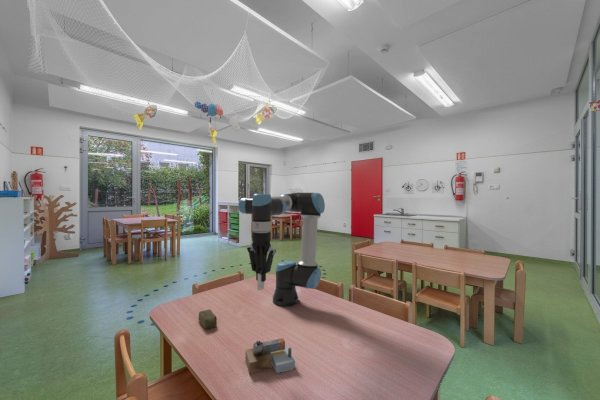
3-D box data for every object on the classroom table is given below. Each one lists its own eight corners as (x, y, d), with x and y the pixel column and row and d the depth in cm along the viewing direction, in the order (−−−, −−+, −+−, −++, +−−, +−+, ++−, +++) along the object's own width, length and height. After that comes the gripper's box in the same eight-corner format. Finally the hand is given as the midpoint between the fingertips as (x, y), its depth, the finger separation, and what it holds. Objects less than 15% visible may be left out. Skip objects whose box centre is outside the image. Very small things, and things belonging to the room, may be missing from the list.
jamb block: (266, 355, 99) (266, 345, 99) (271, 368, 92) (271, 357, 92) (245, 360, 96) (245, 349, 96) (249, 374, 89) (249, 362, 89)
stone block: (205, 330, 117) (205, 320, 117) (197, 320, 126) (198, 310, 126) (217, 327, 120) (217, 316, 120) (209, 317, 129) (209, 307, 129)
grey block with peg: (282, 345, 106) (282, 331, 106) (294, 368, 92) (295, 352, 92) (266, 349, 103) (266, 334, 103) (276, 373, 89) (276, 356, 89)
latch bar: (254, 357, 92) (254, 345, 91) (252, 351, 95) (252, 340, 95) (285, 350, 96) (285, 339, 96) (282, 345, 99) (282, 334, 99)
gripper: (242, 231, 103) (242, 289, 103) (269, 234, 97) (269, 295, 98) (254, 229, 110) (253, 283, 110) (279, 231, 104) (279, 288, 104)
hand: (260, 288), depth 104 cm, fingers closed
